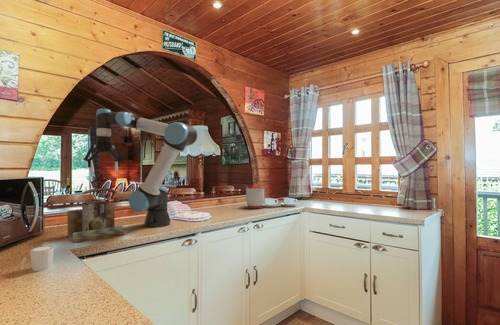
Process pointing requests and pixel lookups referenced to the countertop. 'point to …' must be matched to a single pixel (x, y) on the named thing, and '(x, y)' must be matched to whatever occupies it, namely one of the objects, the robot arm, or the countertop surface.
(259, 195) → the citrus juicer
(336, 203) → the countertop surface
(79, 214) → the wall rack
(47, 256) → the white cylinder
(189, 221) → the countertop surface
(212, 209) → the countertop surface
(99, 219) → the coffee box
